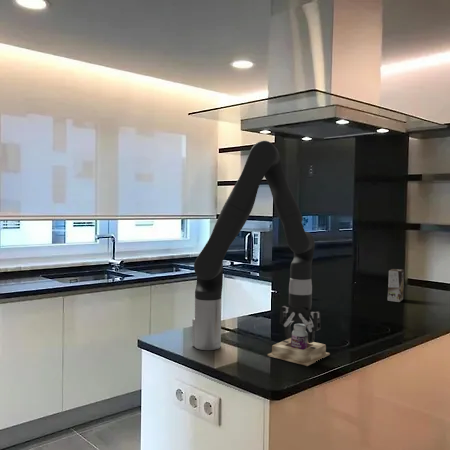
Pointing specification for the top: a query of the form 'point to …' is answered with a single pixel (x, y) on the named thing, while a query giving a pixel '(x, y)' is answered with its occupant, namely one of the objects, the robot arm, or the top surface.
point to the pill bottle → (299, 337)
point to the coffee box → (395, 285)
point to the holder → (299, 352)
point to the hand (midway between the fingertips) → (299, 340)
